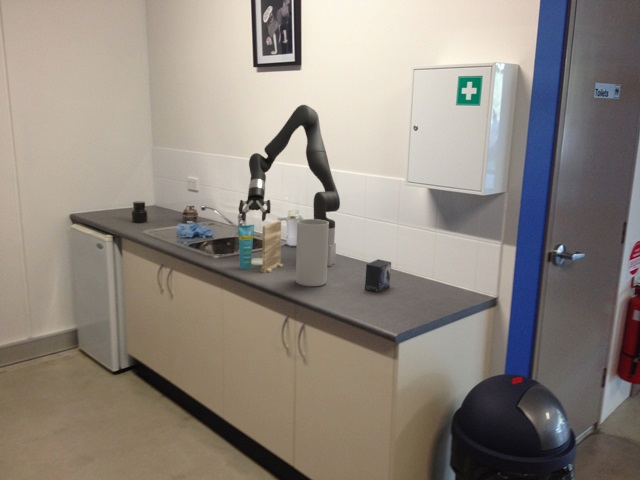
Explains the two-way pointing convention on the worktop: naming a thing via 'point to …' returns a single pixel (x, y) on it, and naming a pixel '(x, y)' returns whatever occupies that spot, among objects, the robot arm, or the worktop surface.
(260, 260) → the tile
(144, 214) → the ink bottle
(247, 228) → the tube
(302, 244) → the cylinder vase
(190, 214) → the rusty gas canister
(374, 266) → the small box
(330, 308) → the worktop surface
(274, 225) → the screen
